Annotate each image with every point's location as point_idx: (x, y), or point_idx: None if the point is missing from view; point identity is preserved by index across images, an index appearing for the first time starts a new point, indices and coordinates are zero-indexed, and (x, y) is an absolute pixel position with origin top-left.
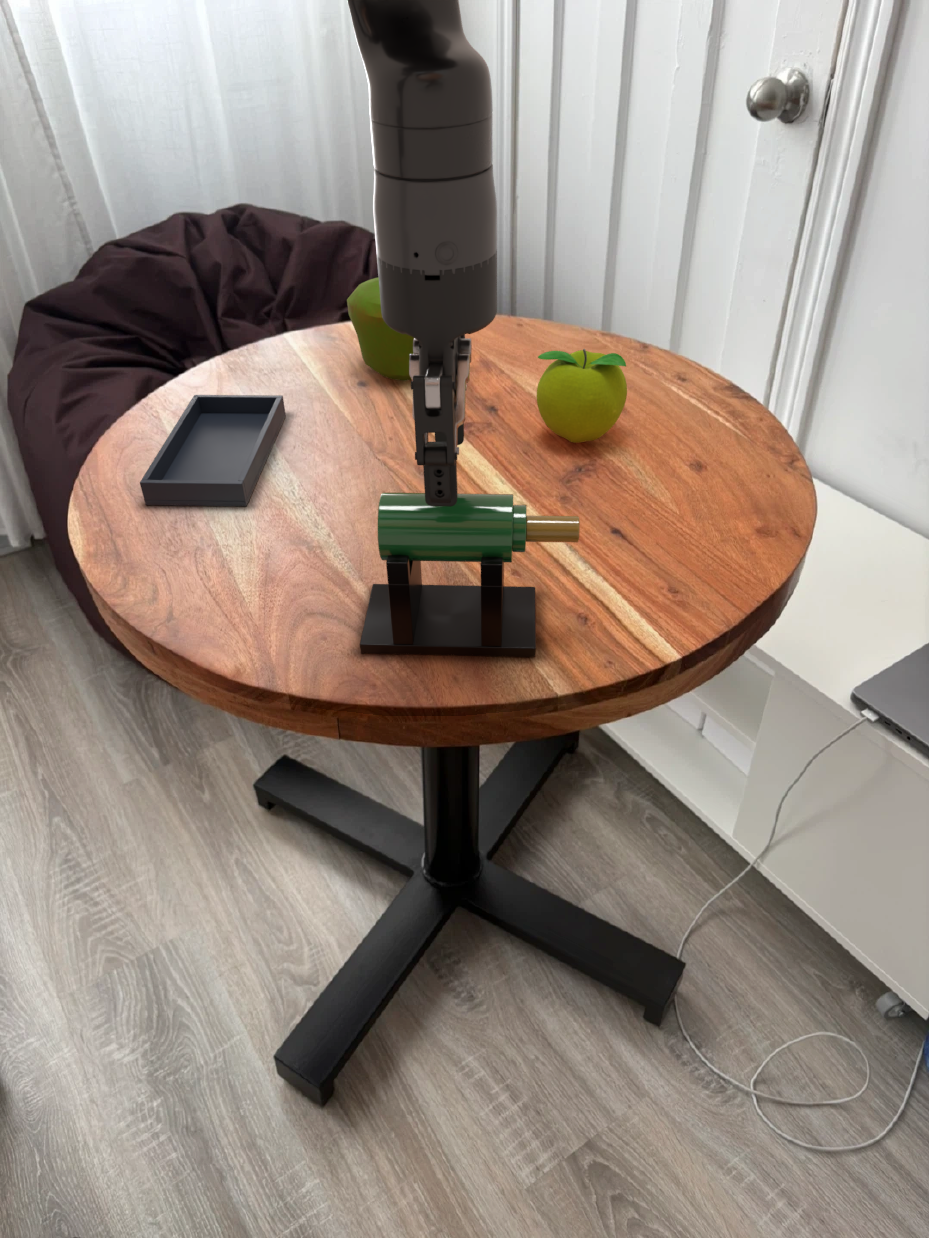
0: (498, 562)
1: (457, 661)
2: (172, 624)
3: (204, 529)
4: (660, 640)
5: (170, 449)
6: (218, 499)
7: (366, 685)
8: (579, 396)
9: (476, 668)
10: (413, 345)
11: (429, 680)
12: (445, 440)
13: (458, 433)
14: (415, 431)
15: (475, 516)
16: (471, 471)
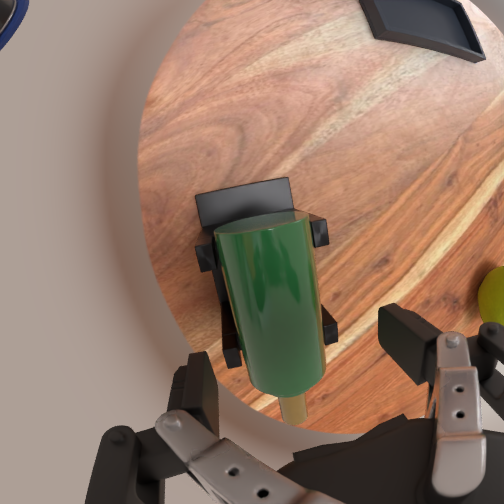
0: (231, 365)
1: (208, 281)
2: (201, 28)
3: (334, 14)
4: (270, 401)
5: None
6: (370, 17)
7: (158, 215)
8: (500, 311)
9: (204, 298)
10: (449, 495)
11: (179, 265)
12: (382, 322)
13: (387, 347)
14: (89, 486)
15: (261, 361)
16: (455, 220)
